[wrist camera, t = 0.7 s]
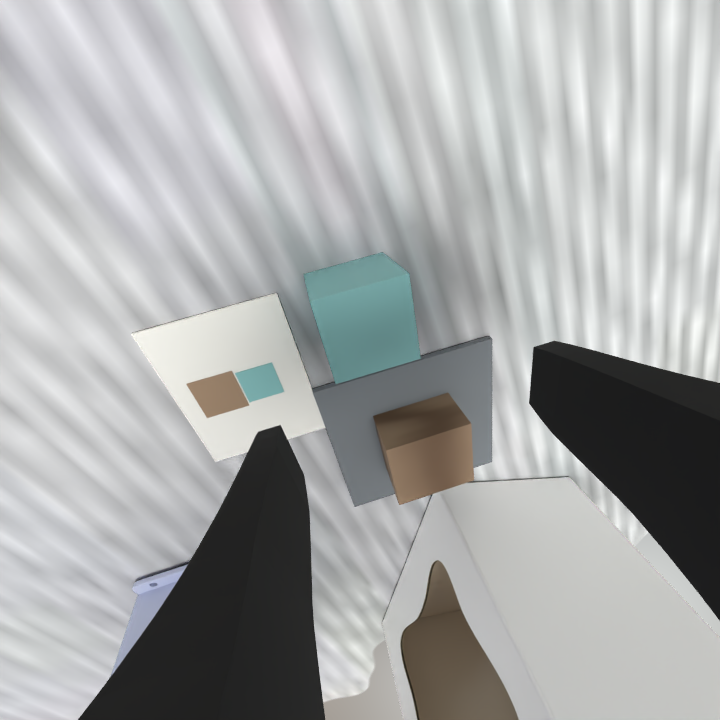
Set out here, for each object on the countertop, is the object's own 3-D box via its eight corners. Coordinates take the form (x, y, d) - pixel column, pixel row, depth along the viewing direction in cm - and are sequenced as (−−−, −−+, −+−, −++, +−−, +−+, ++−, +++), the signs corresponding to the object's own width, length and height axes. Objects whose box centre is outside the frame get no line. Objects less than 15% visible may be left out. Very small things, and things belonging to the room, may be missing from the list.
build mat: (353, 502, 25) (354, 506, 25) (312, 388, 19) (312, 392, 19) (489, 457, 26) (491, 461, 25) (488, 335, 20) (492, 338, 20)
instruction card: (216, 460, 20) (215, 462, 20) (132, 333, 16) (130, 334, 15) (325, 426, 21) (326, 428, 21) (276, 292, 16) (276, 294, 16)
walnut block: (386, 468, 23) (399, 505, 21) (372, 415, 21) (385, 450, 18) (452, 446, 24) (473, 480, 21) (448, 392, 21) (471, 423, 18)
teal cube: (325, 344, 18) (335, 384, 15) (303, 273, 16) (309, 301, 13) (394, 323, 18) (420, 358, 15) (382, 251, 16) (409, 273, 13)
